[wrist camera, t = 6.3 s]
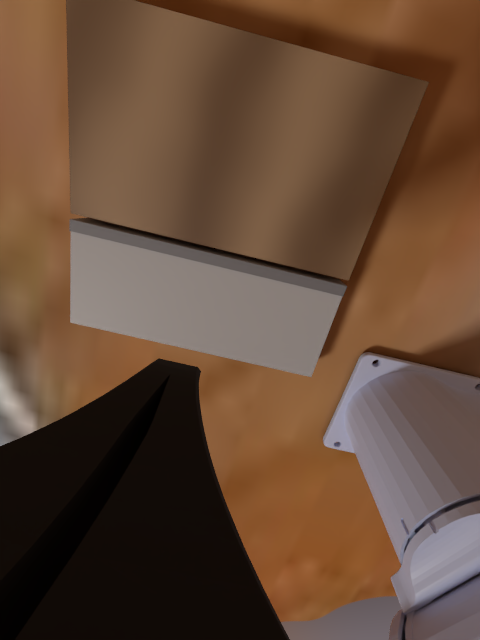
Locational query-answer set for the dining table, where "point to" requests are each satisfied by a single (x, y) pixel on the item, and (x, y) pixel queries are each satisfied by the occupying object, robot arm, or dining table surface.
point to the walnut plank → (229, 135)
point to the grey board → (199, 297)
